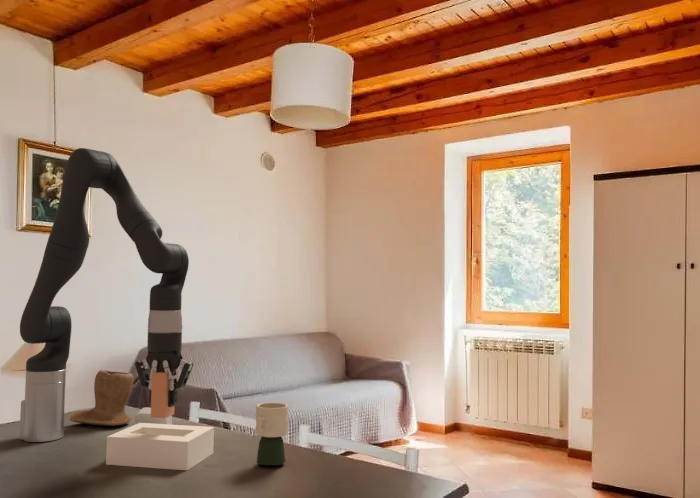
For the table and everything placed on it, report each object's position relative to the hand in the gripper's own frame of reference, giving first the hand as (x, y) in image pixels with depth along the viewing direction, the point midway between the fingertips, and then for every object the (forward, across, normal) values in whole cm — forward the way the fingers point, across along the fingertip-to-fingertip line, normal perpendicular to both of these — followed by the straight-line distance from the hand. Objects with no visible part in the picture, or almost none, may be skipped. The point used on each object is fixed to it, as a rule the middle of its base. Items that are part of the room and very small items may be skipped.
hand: (163, 405), depth 142 cm
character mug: (+12, +25, +1) cm, 28 cm away
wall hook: (+12, -9, +15) cm, 21 cm away
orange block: (+2, 0, 0) cm, 2 cm away
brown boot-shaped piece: (+12, -32, +28) cm, 44 cm away
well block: (+12, 0, 0) cm, 12 cm away
